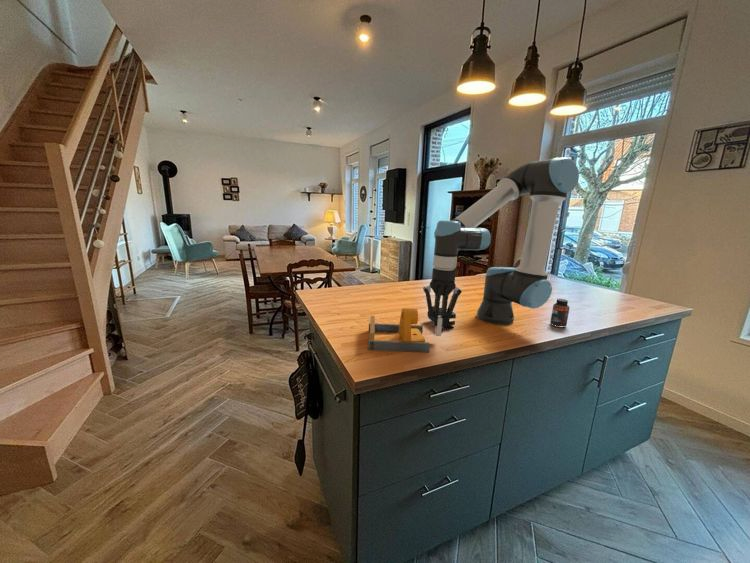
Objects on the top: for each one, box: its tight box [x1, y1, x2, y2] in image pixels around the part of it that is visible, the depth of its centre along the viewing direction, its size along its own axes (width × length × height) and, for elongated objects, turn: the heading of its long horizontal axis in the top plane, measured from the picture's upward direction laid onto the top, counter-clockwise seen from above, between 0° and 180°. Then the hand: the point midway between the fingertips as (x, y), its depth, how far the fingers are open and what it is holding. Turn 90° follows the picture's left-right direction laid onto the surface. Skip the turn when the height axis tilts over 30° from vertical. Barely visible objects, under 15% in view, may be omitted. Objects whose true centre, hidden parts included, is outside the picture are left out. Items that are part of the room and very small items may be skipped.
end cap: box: [426, 305, 457, 330], centre depth 122 cm, size 10×7×7 cm
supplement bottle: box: [549, 298, 570, 327], centre depth 126 cm, size 6×6×11 cm
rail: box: [367, 315, 431, 353], centre depth 105 cm, size 20×16×6 cm
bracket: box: [397, 308, 426, 342], centre depth 104 cm, size 11×7×12 cm, turn 6°
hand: (437, 334), depth 105 cm, fingers closed
